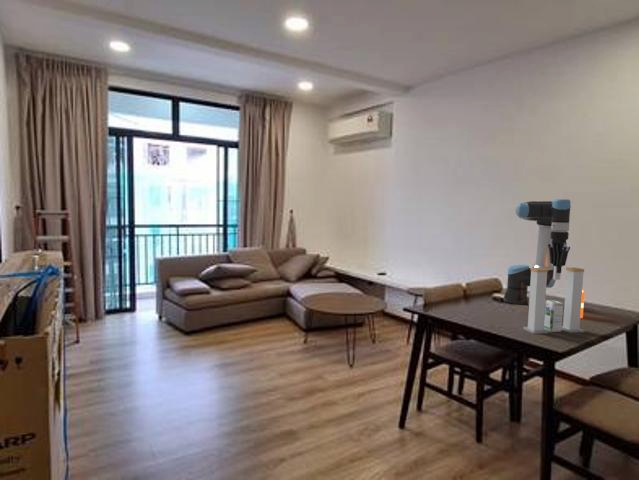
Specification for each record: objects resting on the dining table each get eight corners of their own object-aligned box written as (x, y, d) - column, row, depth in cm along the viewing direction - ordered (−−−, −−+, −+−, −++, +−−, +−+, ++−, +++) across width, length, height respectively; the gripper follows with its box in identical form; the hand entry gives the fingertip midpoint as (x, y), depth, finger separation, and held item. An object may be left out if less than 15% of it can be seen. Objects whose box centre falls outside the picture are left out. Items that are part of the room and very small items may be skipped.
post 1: (532, 333, 203) (536, 270, 200) (523, 328, 211) (526, 267, 208) (548, 333, 204) (552, 270, 201) (537, 328, 211) (541, 267, 208)
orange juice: (581, 314, 238) (584, 280, 236) (582, 318, 230) (585, 282, 228) (565, 313, 241) (568, 278, 239) (566, 316, 233) (568, 281, 232)
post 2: (569, 332, 205) (573, 269, 202) (558, 327, 213) (562, 267, 210) (584, 332, 206) (588, 269, 203) (572, 327, 214) (576, 267, 211)
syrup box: (543, 328, 211) (545, 300, 210) (554, 328, 212) (556, 300, 210) (550, 332, 205) (552, 303, 204) (561, 331, 206) (563, 302, 205)
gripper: (543, 230, 209) (541, 277, 212) (561, 232, 196) (558, 282, 199) (557, 230, 210) (554, 276, 212) (576, 232, 197) (573, 281, 200)
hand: (556, 279), depth 206 cm, fingers closed
